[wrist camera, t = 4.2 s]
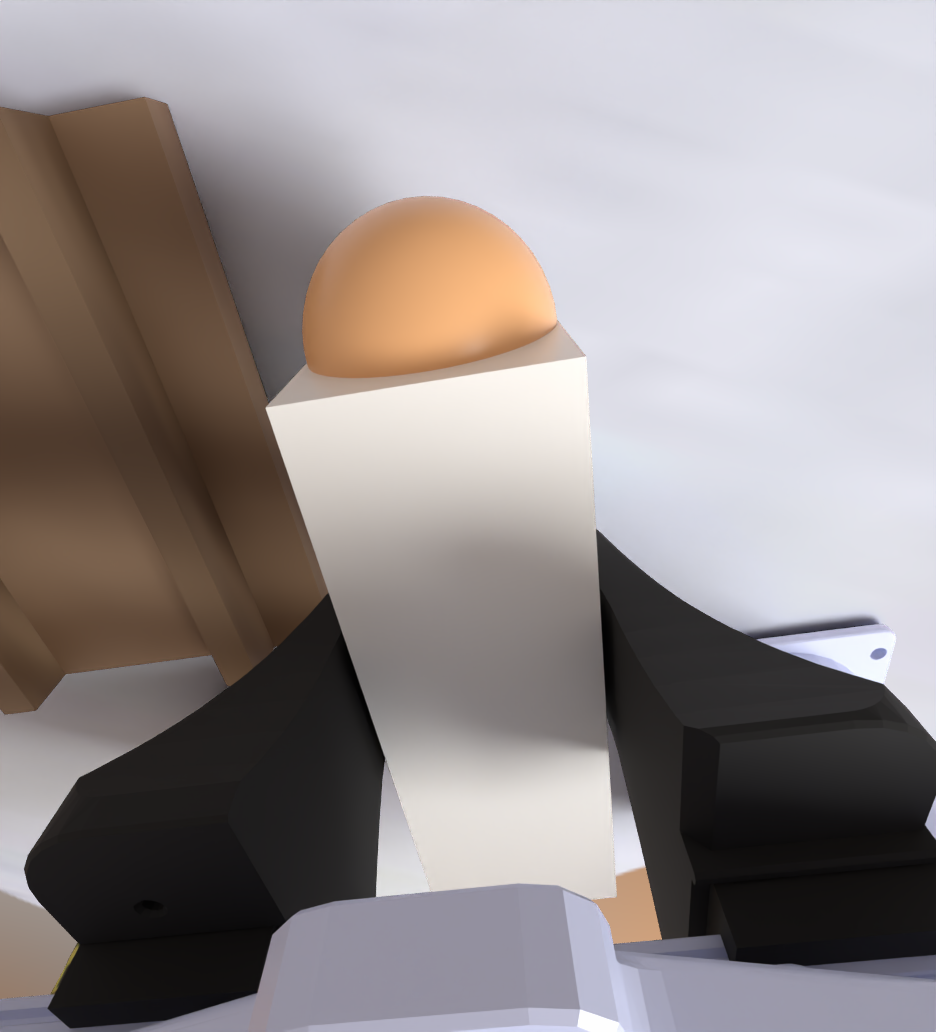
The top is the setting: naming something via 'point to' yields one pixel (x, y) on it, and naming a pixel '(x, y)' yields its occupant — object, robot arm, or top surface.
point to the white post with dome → (460, 538)
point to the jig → (130, 418)
